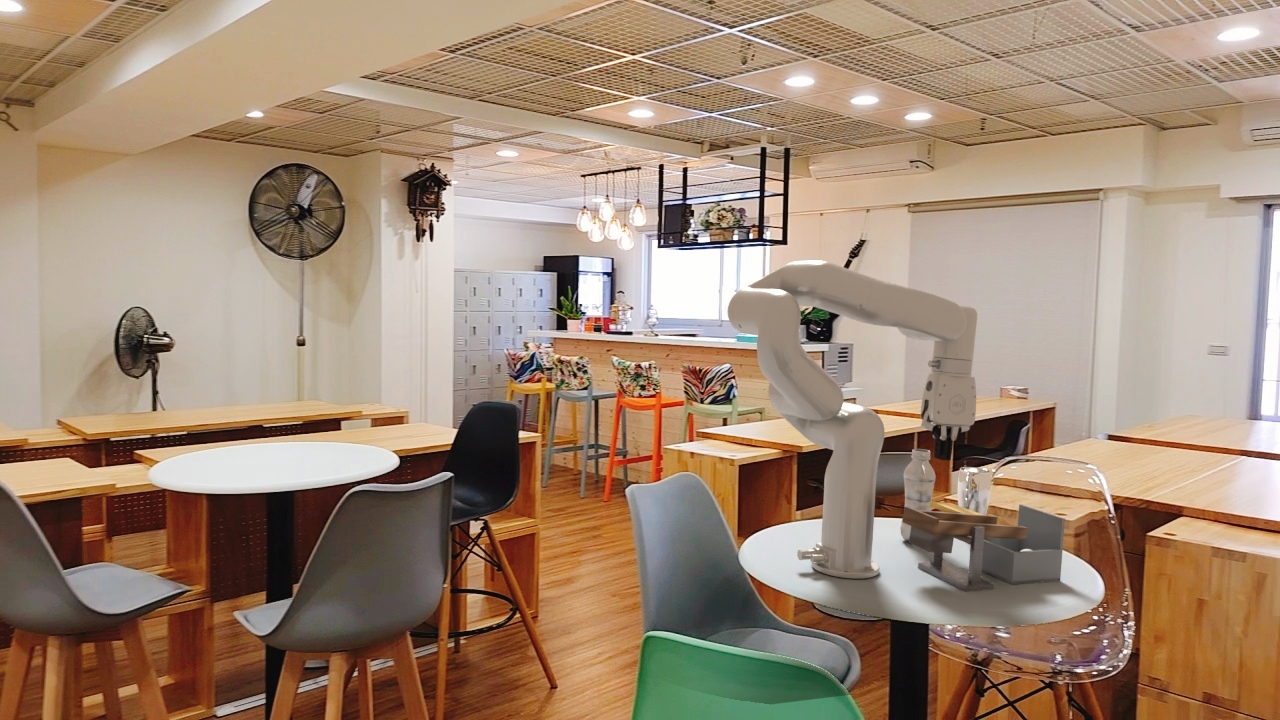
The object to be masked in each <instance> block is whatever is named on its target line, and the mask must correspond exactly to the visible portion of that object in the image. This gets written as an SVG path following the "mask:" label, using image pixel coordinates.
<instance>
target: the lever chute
mask: <svg viewBox="0 0 1280 720" xmlns="http://www.w3.org/2000/svg"><path fill="white" fill-rule="evenodd" d="M930 507H931V508H933V509H936V510H939V511H935V510H934V511H933V510H931V511H923V510H916V509H913V508H911V507H905V506H904V508H903V516H902V519H903V520H902V519H901V522H903V523H905V524H908V525H910V526H911V531H910V538H909V541H908V544H911V545H913V546H915V547H917V548H919V549H922V550H923V551H925V552H928V553H931V552H938V553H943V554H952V553H953V552H952V551H953V544H954V539H957V540H959V541H961V542H963V543H966V544H968V545H970V546H971V538H970V537H968V536H971V532H972V527H977V526H982V527H984V528H985V530H984V537H990V538H1006V539H1021V540H1022V538H1026V536H1027V529H1028V528H1027V527H1024V526H1018V525H1010V524H1009V525H1007V524H998V516H995V515H989V514H988V515H987V514H986V515H982V514H979V513H977V512H974V511H971V510H968V509H966V508H963V507H960V506H959V505H958V504H954V503H951V502H941V501H940V502H939V501H932V500H931V501H930Z"/></svg>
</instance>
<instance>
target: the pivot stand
mask: <svg viewBox="0 0 1280 720" xmlns="http://www.w3.org/2000/svg"><path fill="white" fill-rule="evenodd" d="M984 530H985V528H984V527H982V526H977V527H972V532H971V545H970V547H969V548H970V549H969V561H968V563H969V564H968V571H967V570H965V569H963V568H960V567H958V566H957V565H954V564H952V563H950V562H947V561H945V560H943V559H944V555H943V554H944V553H938V552H930V561H922V562H918V563H917V568H918V569H920V570H922V571H924V572H925V573H928V574H930V575H932V576H933V577H936V578H938V579H940V580H942V581H944V582H946V583H947V584H950V585H952V586H954V587H955V588H958V589H960V590H962V591H964V592H974V591H976V592H977V591H987V590H993V589H994V586H995V585H994V583H993V582H991V581H988V580H987V579H984V578H982V572H983V571H982V559H983V545H984Z"/></svg>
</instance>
